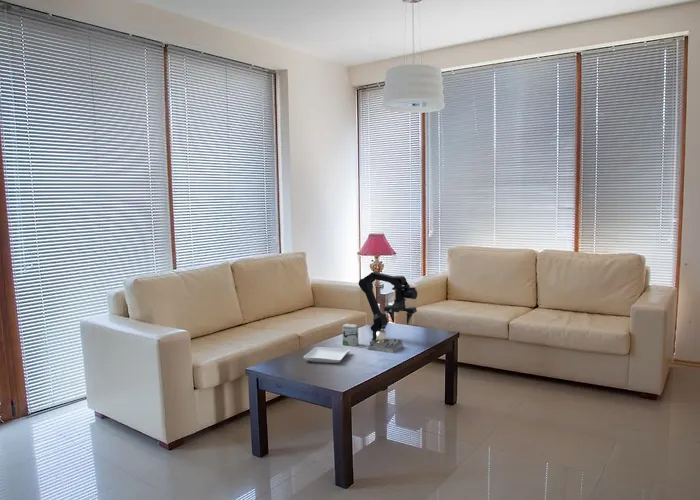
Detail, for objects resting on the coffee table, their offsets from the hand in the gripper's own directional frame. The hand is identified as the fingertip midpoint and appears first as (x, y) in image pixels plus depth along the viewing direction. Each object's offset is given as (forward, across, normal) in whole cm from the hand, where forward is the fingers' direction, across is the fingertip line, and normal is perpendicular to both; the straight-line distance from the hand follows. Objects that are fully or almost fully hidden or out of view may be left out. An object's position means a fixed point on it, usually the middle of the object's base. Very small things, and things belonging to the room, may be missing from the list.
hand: (400, 323), depth 320 cm
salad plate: (+13, -24, -44) cm, 51 cm away
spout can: (+10, -6, -13) cm, 17 cm away
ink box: (+12, -26, -15) cm, 32 cm away
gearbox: (+12, -4, -13) cm, 18 cm away
